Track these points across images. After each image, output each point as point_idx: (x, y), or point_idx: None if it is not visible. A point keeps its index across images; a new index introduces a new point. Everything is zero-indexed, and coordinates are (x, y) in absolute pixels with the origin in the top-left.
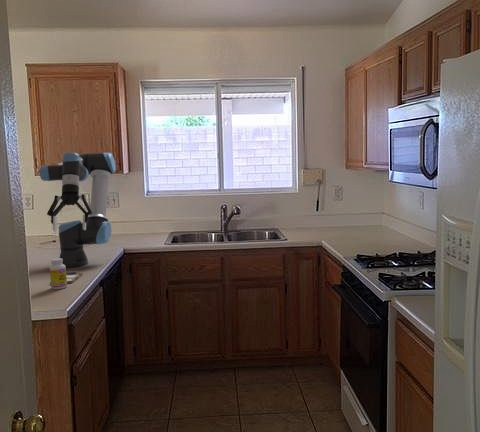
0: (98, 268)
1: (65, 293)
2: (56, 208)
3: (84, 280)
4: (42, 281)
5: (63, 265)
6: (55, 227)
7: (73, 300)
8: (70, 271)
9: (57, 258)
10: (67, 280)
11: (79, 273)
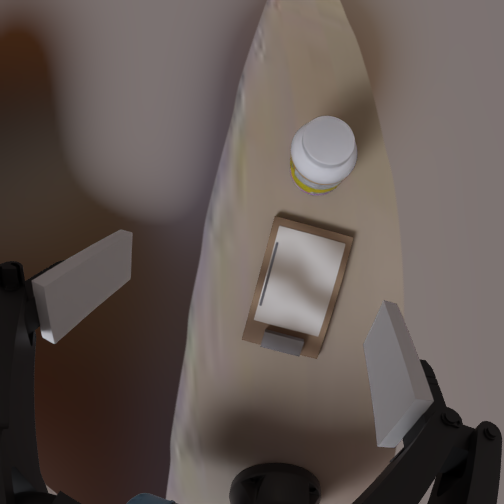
0: (192, 410)
1: (288, 91)
2: (413, 502)
3: (233, 244)
4: (379, 306)
5: (298, 135)
6: (378, 339)
7: (260, 24)
8: (283, 352)
9: (329, 161)
10: (292, 235)
11: (251, 339)
